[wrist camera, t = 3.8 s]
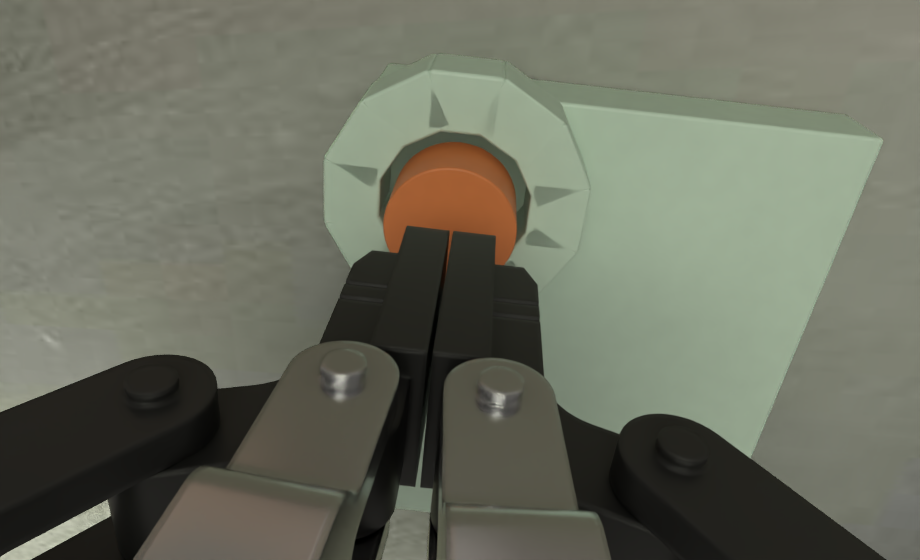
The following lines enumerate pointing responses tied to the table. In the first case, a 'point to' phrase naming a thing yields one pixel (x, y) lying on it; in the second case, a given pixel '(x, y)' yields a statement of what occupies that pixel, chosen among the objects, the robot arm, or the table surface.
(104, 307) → the table surface
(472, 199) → the button
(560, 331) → the scale
